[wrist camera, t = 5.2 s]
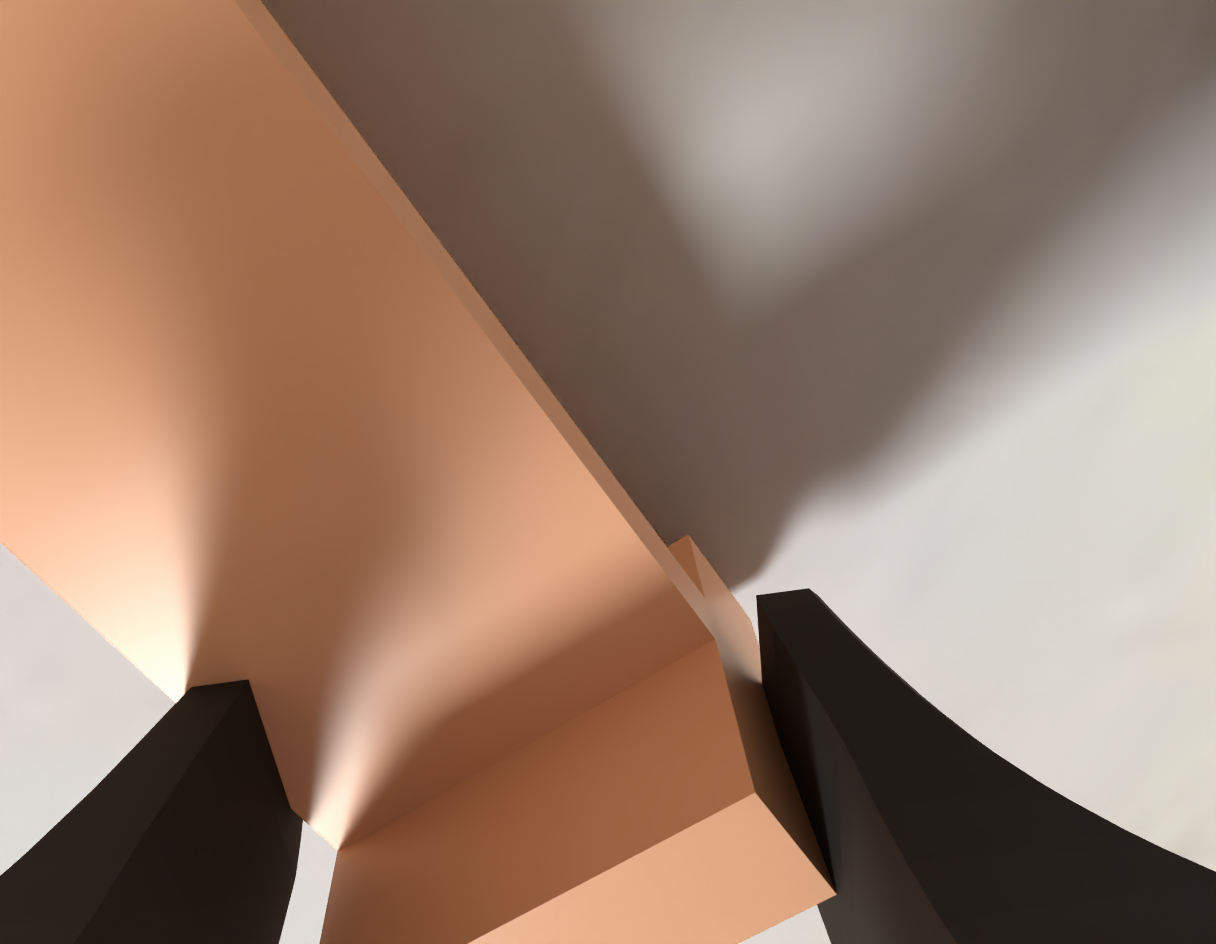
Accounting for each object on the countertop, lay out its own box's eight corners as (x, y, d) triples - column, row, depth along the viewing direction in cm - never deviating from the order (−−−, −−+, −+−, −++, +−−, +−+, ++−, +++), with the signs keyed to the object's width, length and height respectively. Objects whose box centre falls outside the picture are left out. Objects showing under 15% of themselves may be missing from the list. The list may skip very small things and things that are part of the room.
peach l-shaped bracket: (750, 620, 15) (837, 894, 11) (433, 797, 16) (402, 1110, 12) (-83, -527, 9) (-580, -875, 5) (-494, -132, 10) (-1180, -153, 6)
